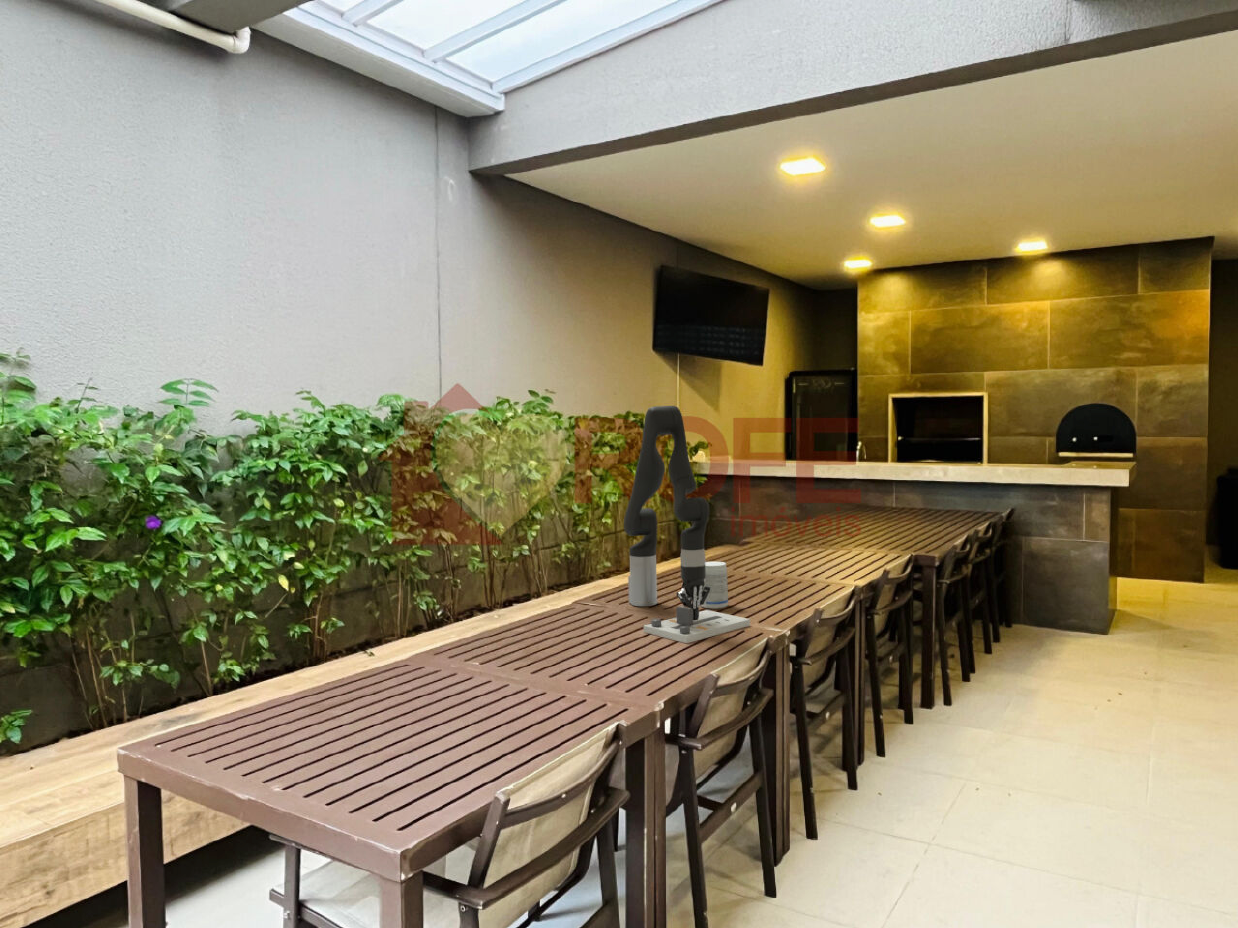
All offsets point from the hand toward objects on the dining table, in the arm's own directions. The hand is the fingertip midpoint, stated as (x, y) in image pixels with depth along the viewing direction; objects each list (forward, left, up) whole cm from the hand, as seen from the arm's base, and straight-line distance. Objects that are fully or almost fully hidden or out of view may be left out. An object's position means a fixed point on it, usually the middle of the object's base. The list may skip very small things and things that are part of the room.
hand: (694, 619), depth 250 cm
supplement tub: (-17, +27, -3) cm, 32 cm away
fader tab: (0, -4, -1) cm, 4 cm away
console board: (0, +1, -3) cm, 3 cm away
